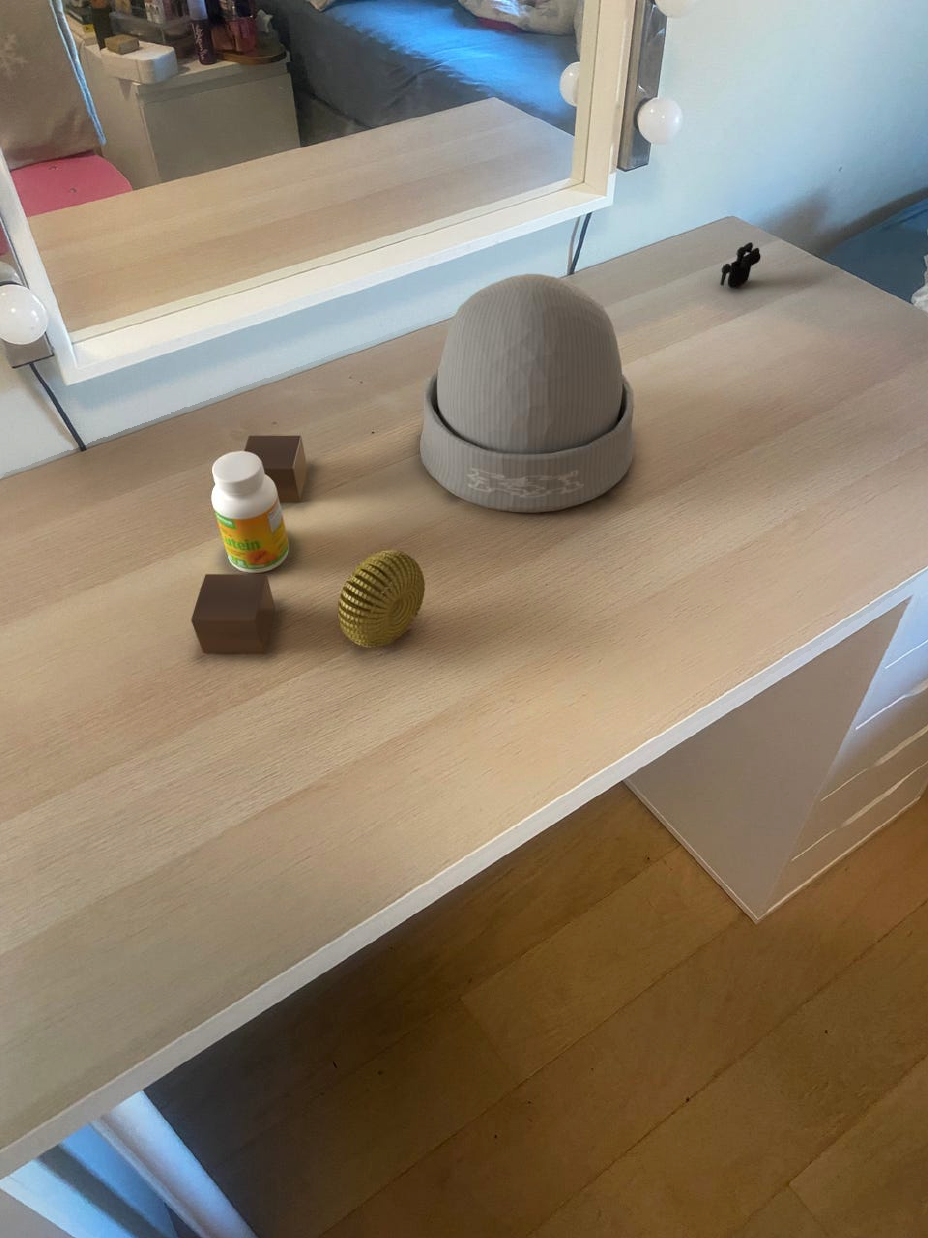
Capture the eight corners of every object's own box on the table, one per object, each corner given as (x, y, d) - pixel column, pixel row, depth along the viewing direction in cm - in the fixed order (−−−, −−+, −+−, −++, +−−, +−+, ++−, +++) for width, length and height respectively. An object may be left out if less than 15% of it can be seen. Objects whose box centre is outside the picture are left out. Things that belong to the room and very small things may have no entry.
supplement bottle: (218, 569, 78) (191, 482, 71) (243, 528, 81) (219, 441, 74) (276, 579, 77) (254, 491, 70) (299, 537, 80) (280, 450, 73)
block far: (256, 468, 87) (248, 435, 84) (307, 468, 87) (301, 435, 84) (247, 502, 84) (238, 468, 81) (300, 502, 84) (293, 468, 81)
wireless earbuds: (748, 273, 111) (757, 233, 107) (765, 280, 110) (775, 239, 106) (713, 292, 108) (722, 252, 104) (730, 300, 107) (739, 259, 103)
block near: (216, 607, 75) (205, 573, 72) (275, 607, 75) (266, 574, 72) (203, 653, 71) (190, 620, 68) (265, 653, 71) (255, 620, 68)
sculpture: (401, 594, 75) (393, 522, 69) (437, 616, 74) (432, 545, 68) (334, 651, 71) (319, 580, 65) (370, 675, 69) (359, 605, 64)
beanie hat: (419, 541, 91) (396, 463, 72) (433, 352, 96) (415, 232, 77) (625, 550, 90) (659, 474, 71) (629, 359, 95) (662, 238, 75)
